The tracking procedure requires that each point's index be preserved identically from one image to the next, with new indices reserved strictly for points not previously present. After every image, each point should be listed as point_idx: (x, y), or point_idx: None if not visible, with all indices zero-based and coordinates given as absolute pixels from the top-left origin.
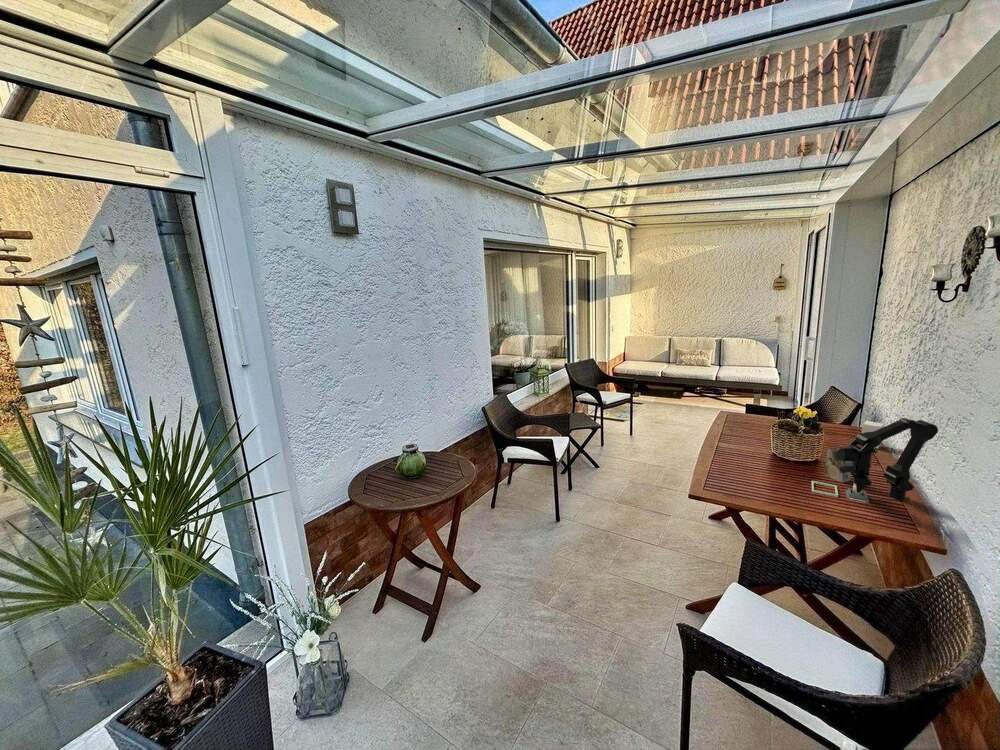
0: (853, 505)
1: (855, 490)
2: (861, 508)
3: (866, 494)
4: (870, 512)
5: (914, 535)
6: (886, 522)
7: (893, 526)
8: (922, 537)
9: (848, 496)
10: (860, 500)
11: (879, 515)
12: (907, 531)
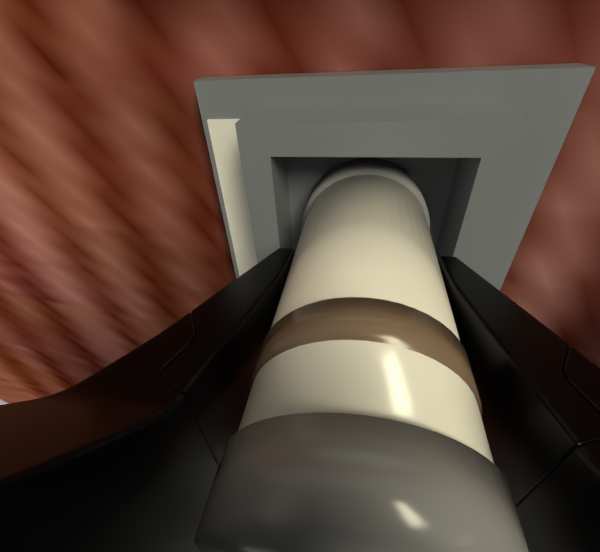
0: (96, 147)
1: (303, 240)
2: (94, 213)
3: None
4: (79, 265)
5: (6, 382)
6: (18, 319)
7: (4, 337)
8: (22, 398)
9: (282, 106)
10: (235, 234)
11: (86, 307)
12: (17, 372)
